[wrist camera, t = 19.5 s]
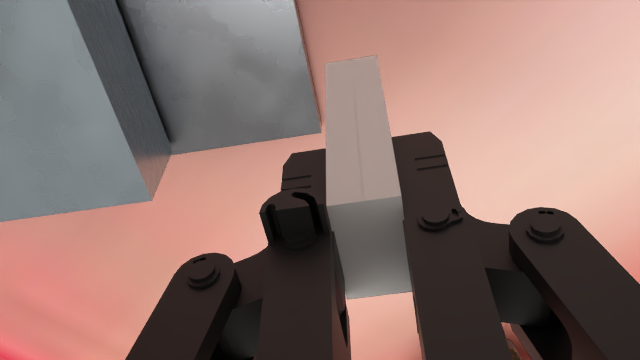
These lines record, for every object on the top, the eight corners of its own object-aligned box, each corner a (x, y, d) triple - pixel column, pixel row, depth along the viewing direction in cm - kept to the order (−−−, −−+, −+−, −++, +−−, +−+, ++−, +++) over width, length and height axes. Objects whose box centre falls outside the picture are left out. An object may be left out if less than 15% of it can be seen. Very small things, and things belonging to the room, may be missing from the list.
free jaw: (-157, -81, 27) (-237, -55, 23) (66, -129, 25) (20, -109, 22) (-4, 177, 34) (-45, 228, 31) (172, 151, 33) (152, 200, 29)
